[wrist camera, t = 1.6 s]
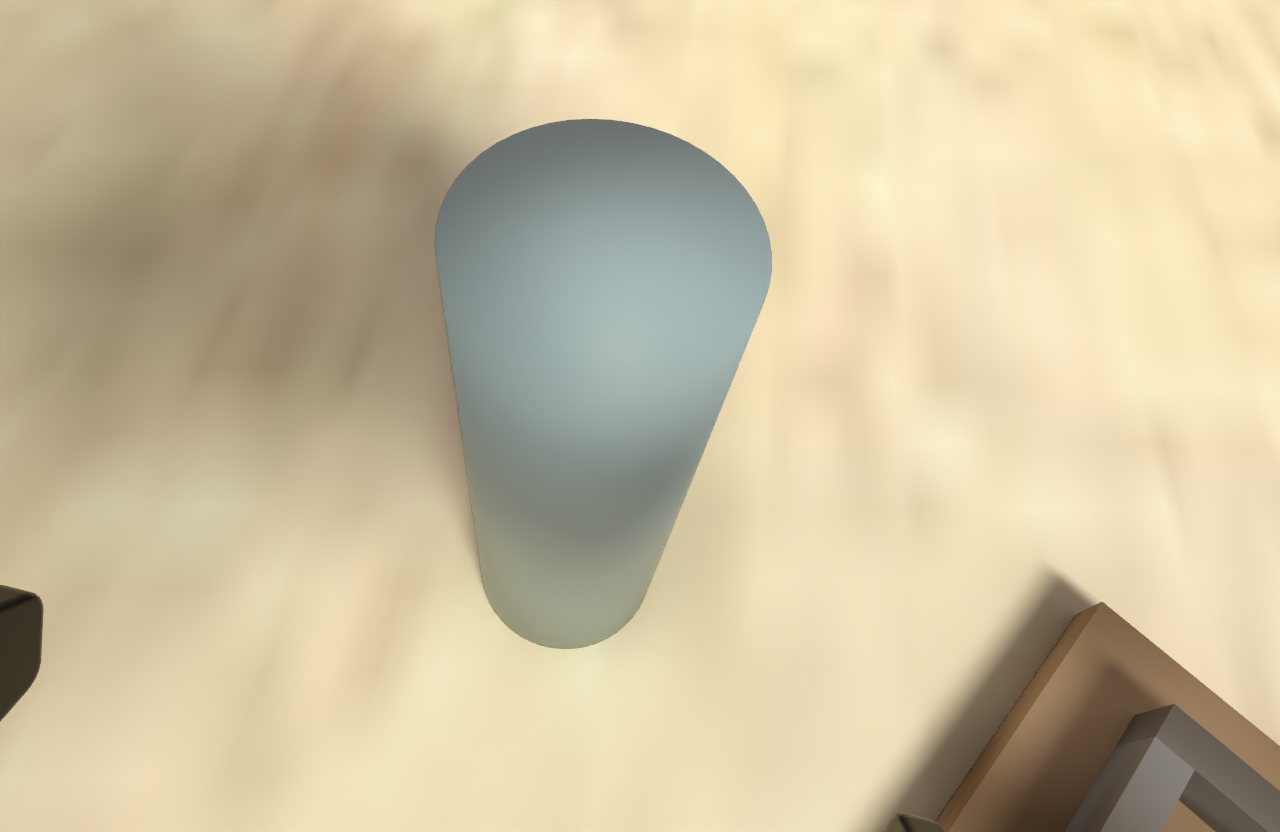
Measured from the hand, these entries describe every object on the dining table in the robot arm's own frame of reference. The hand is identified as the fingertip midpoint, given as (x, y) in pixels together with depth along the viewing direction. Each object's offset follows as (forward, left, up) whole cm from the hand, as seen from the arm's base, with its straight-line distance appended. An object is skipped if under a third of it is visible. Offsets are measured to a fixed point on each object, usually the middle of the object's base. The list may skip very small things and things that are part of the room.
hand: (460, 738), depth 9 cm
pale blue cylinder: (+3, +6, -12) cm, 14 cm away
